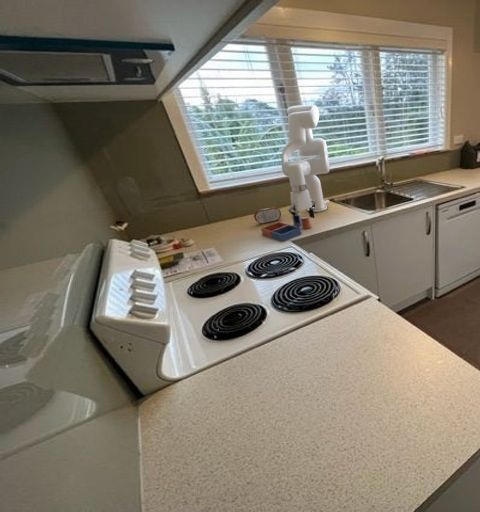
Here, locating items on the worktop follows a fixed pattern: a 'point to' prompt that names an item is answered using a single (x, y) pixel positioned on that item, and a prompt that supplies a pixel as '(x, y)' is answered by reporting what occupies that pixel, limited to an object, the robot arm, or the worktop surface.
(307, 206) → the robot arm
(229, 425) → the worktop surface
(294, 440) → the worktop surface
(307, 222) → the reddish round cylinder
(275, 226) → the terracotta bin
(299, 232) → the blue bin
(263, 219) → the tin
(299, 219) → the small blue cylinder
